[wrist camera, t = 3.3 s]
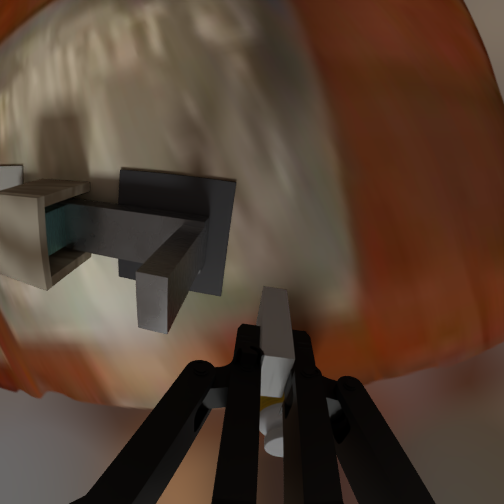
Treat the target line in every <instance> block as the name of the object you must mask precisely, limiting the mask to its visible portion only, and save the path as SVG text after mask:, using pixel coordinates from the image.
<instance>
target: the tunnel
mask: <svg viewBox="0 0 504 504" xmlns="http://www.w3.org/2000/svg"><path fill="white" fill-rule="evenodd" d="M89 191H90V182H82V181H68V180H52V179H40V180H36V181H32V182H28V183H25V184H21V185H17V186H14V187H10V188H7V189H4V190H1V191H0V273H1V274H2V275H5V276H7V277H10V278H12V279H15V280H18V281H21V282H23V283H26V284H29V285H32V286H34V287H37V288H40V289H43V290H46V291H47V290H49V289H50V288H51V287H52V286H54V285H55V284H56V283H57V282H59V281H60V280H61V279H63V278H64V277H65V276H66V275H68V274H69V273H70V272H72V271H73V270H74V269H76V268H77V267H78V266H80V265H81V264H82V263H84V262H85V261H86V260H88V259H89V258H90V257H91V253H88V252H84V251H79V250H74V249H70V248H65V247H63V248H61V249H59V250H58V251H56V252H55V253H53V254H51V255H50V256H48V248H47V237H46V224H45V207H46V206H49V205H51V204H54V203H57V202H60V201H62V200H65V199H68V198H71V197H74V196H77V195H80V194H83V193H86V192H89Z"/></svg>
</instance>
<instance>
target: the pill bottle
mask: <svg viewBox="0 0 504 504" xmlns="http://www.w3.org/2000/svg"><path fill="white" fill-rule="evenodd" d="M283 401H284V393H283V396H282V398H278V397H268V396H260V425H259V430H260V431H261V432H262V433H263V434H264V435H265V438H264V448H265V450H266V451H267V453H269V454H271V455H274V456H279V457H283V418H282V414H281V415H279V412H280V409H281V406H282V404H283Z"/></svg>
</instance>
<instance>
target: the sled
mask: <svg viewBox="0 0 504 504" xmlns="http://www.w3.org/2000/svg"><path fill="white" fill-rule="evenodd" d="M209 218H210V217H209V216H202V215H196V214H189V213H182V212H175V211H168V210H160V209H153V208H146V207H138V206H130V205H122V204H114V203H106V202H98V201H89V200H80V199H71V198H68V199H65V200H62V201H60V202H57V203H54V204H51V205H49V206H46V207H45V224H46V237H47V248H48V256H50V255H51V254H53V253H55V252H56V251H58V250H59V249H61V248H63V247H65V248H70V249H74V250H79V251H84V252H88V253H93V254H98V255H103V256H108V257H113V258H118V259H123V260H128V261H133V262H138V263H143V264H142V266H141V267H140V268H139V269H138V270H137V271H136V298H137V316H138V327H139V328H143V329H147V330H151V331H155V332H160V333H164V334H168V332H169V330H170V328H171V326H172V324H173V322H174V320H175V318H176V316H177V314H178V312H179V310H180V308H181V306H182V304H183V302H184V300H185V298H186V296H187V294H188V292H189V290H190V288H191V286H192V284H193V282H194V280H195V278H196V276H197V274H200V273H201V271H202V269H203V267H204V265H205V255H206V245H207V236H208V227H209Z"/></svg>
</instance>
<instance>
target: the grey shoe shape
mask: <svg viewBox="0 0 504 504" xmlns="http://www.w3.org/2000/svg"><path fill="white" fill-rule="evenodd" d="M235 188H236V182H230V181H223V180H215V179H208V178H200V177H192V176H183V175H174V174H165V173H155V172H144V171H133V170H120V180H119V199H118V204H122V205H130V206H138V207H146V208H153V209H160V210H168V211H175V212H182V213H189V214H196V215H202V216H209V217H210V218H209V227H208V236H207V245H206V255H205V265H204V267H203V269H202V271H201V273H200V274H197V276H196V278H195V280H194V282H193V284H192V286H191V288H190V290H189V291H194V292H199V293H205V294H210V295H216V296H221V292H222V284H223V276H224V268H225V261H226V253H227V245H228V238H229V230H230V223H231V216H232V209H233V202H234V195H235ZM142 264H143V263H138V262H133V261H128V260H123V259H118V265H119V277H124V278H129V279H133V280H136V271H137V270H138V269H139V268H140V267H141V266H142Z"/></svg>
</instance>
